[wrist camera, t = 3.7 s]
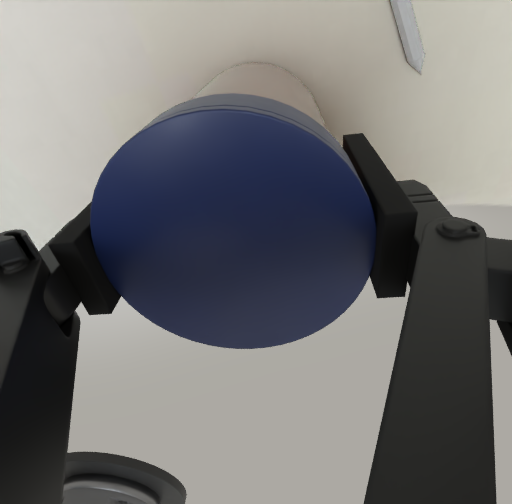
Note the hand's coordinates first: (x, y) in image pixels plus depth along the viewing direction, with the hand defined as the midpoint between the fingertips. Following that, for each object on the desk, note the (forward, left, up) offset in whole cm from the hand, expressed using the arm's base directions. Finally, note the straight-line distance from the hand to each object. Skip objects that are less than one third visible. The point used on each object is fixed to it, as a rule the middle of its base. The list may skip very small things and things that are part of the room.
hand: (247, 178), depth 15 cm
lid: (0, 0, +5) cm, 5 cm away
